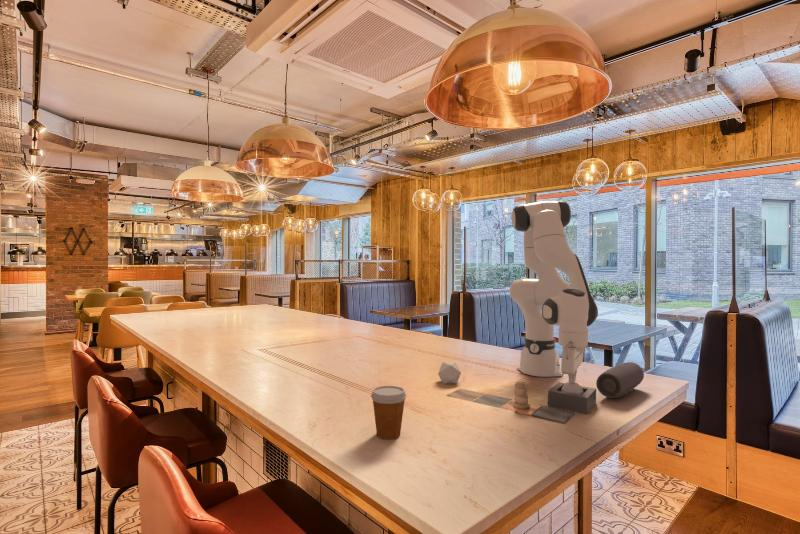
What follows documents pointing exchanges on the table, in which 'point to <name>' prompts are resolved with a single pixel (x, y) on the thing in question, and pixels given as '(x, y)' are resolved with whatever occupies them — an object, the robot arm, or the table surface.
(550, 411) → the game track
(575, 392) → the pale grey ball
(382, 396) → the disposable coffee cup
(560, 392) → the housing
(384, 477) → the table surface
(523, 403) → the tan rounded peg
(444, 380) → the die
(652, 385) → the table surface
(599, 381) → the bluetooth speaker
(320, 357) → the table surface
